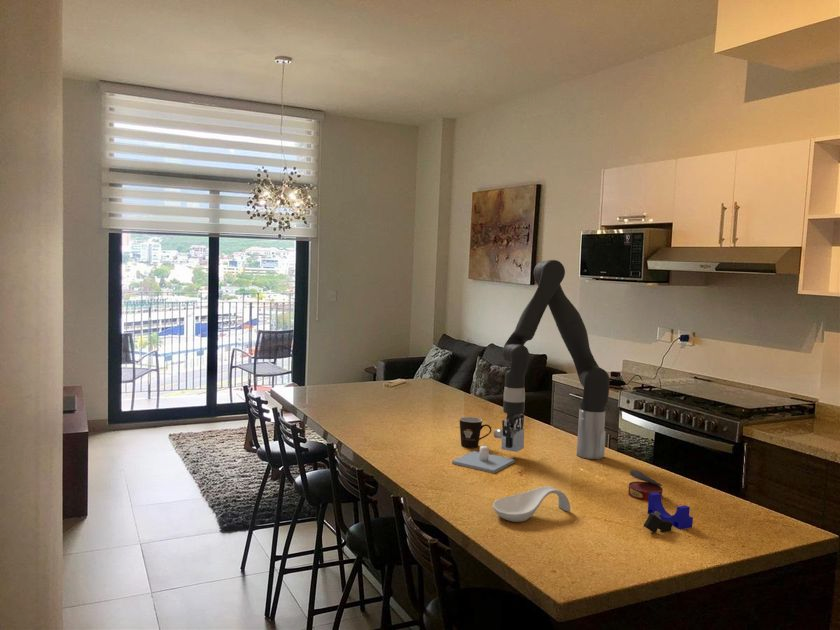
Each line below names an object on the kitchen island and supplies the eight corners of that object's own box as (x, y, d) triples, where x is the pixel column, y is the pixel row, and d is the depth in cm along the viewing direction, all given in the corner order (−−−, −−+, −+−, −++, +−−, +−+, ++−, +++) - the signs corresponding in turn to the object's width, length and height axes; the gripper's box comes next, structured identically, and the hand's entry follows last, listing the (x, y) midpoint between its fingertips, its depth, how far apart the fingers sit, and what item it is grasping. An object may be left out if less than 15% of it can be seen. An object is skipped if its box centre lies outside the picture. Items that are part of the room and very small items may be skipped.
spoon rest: (508, 529, 174) (510, 503, 173) (483, 514, 184) (485, 488, 184) (578, 516, 185) (580, 491, 185) (551, 502, 195) (552, 478, 195)
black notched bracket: (660, 537, 178) (669, 520, 179) (665, 540, 177) (675, 523, 177) (641, 524, 176) (650, 507, 176) (646, 527, 174) (656, 510, 174)
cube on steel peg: (523, 448, 240) (524, 428, 240) (516, 452, 235) (517, 431, 235) (498, 443, 245) (499, 424, 245) (491, 447, 240) (492, 427, 240)
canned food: (627, 506, 208) (621, 474, 212) (659, 505, 207) (653, 472, 211) (635, 501, 197) (629, 467, 201) (670, 499, 197) (663, 465, 201)
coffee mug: (453, 445, 252) (454, 419, 252) (467, 441, 259) (469, 415, 258) (477, 451, 244) (479, 425, 244) (491, 447, 251) (493, 421, 250)
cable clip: (692, 528, 180) (693, 506, 180) (679, 530, 179) (681, 508, 178) (659, 512, 191) (660, 491, 191) (647, 514, 189) (648, 493, 189)
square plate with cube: (514, 462, 234) (515, 446, 233) (493, 473, 220) (494, 456, 220) (474, 453, 242) (475, 438, 242) (452, 463, 229) (452, 447, 228)
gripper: (515, 404, 230) (513, 452, 231) (531, 397, 242) (530, 443, 243) (495, 401, 234) (494, 448, 235) (512, 394, 246) (511, 439, 247)
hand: (512, 445), depth 239 cm, fingers closed on cube on steel peg, 6 cm apart
